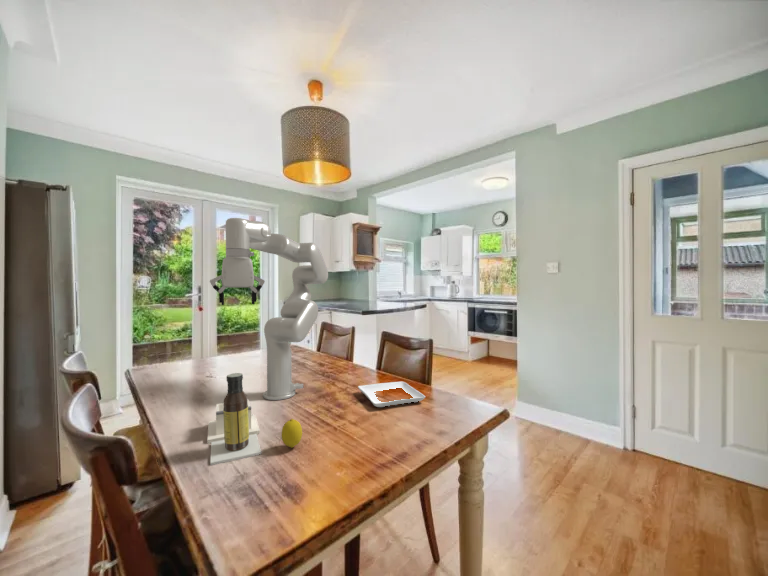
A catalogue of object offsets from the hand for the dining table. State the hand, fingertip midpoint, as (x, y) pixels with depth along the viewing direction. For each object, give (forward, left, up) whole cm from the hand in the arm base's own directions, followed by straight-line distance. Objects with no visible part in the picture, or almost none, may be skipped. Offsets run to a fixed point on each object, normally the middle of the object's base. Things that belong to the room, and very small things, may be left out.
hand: (238, 304), depth 114 cm
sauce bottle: (+2, +26, -38) cm, 46 cm away
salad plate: (-55, +9, -39) cm, 68 cm away
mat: (+2, +26, -38) cm, 46 cm away
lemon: (-12, +32, -38) cm, 51 cm away
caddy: (+2, +12, -38) cm, 40 cm away
